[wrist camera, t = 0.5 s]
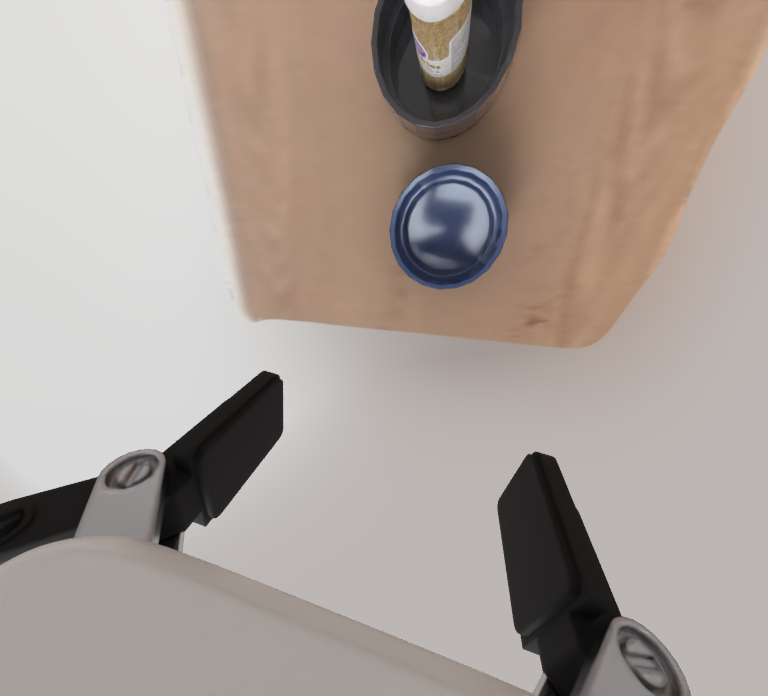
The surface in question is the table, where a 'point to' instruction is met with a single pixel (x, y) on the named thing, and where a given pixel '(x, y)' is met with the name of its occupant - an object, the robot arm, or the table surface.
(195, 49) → the table surface
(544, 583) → the robot arm
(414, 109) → the charcoal bowl
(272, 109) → the table surface
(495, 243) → the navy bowl
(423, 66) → the sprinkles bottle
